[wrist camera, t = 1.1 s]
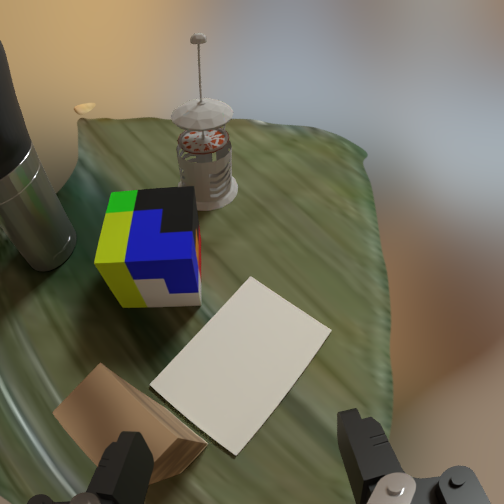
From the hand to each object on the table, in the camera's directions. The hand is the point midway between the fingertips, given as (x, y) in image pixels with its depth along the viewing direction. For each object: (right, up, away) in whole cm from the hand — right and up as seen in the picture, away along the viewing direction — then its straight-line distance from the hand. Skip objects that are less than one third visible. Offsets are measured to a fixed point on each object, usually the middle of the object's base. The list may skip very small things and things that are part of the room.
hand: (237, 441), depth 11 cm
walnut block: (-8, -12, +17) cm, 22 cm away
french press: (-6, +18, +39) cm, 44 cm away
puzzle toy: (-11, +5, +29) cm, 32 cm away
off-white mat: (0, -5, +23) cm, 23 cm away
